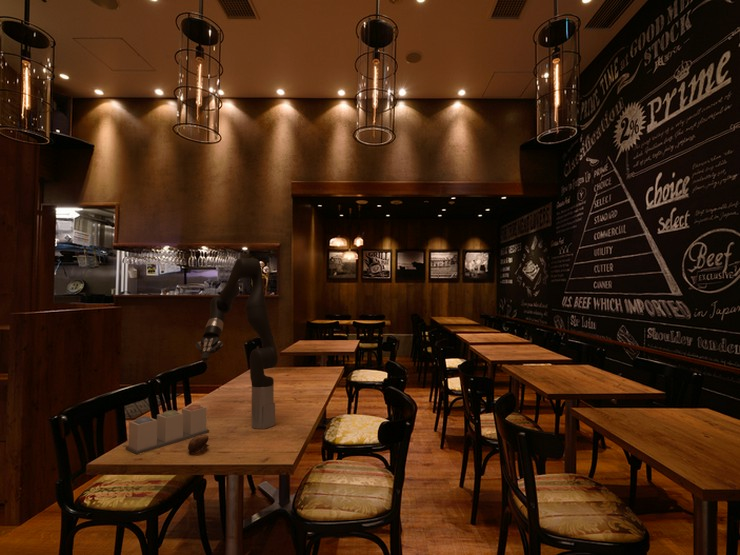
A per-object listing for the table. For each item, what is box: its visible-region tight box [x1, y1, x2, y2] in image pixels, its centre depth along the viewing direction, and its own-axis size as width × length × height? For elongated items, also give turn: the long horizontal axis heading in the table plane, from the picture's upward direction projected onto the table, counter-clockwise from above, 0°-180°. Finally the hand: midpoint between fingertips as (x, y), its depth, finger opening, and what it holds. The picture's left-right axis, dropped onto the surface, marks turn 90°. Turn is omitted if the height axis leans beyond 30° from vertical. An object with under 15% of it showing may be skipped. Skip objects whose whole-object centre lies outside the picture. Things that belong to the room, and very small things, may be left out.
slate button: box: [135, 415, 151, 424], centre depth 146 cm, size 5×5×3 cm
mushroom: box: [187, 434, 210, 455], centre depth 143 cm, size 8×8×6 cm
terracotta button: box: [187, 404, 201, 411], centre depth 163 cm, size 5×5×3 cm
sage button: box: [162, 409, 178, 417], centre depth 154 cm, size 5×5×3 cm
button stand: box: [125, 405, 210, 455], centre depth 154 cm, size 9×28×10 cm, turn 144°
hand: (204, 360), depth 175 cm, fingers closed
